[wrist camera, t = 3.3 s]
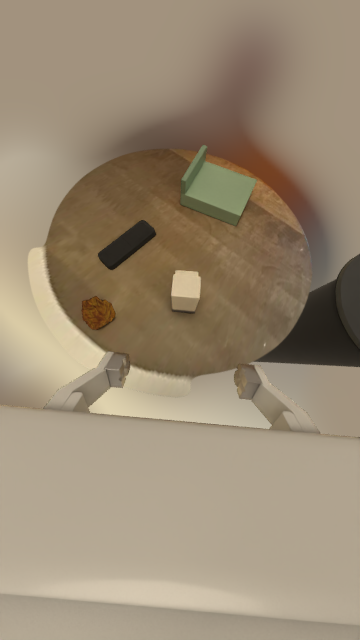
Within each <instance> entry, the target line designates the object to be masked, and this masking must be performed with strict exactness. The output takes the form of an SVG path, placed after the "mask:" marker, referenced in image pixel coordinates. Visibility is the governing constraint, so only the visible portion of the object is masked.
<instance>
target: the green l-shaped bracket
mask: <svg viewBox="0 0 360 640" xmlns="http://www.w3.org/2000/svg"><path fill="white" fill-rule="evenodd" d="M206 151H207V146H205V145H203V146H202V147H201V149H200V151H199V152H198V154H197V155H196V157H195V158H194V160H193V162H192V163H191V165H190V166H189V168H188V170H187V171H186V173H185V174H184V176H183V178H182V179H181V205H183V206H186V207H188V208H191V209H193V210H196V211H199V212H201V213H204V214H206V215H209V216H211V217H214V218H216V219H219V220H222V221H224V222H227V223H229V224H232V225H234V226H236V225H237V223H238V221H239V218H240V216H241V214H242V212H243V210H244V208H245V205H246V203H247V201H248V199H249V197H250V194H251V192H252V190H253V188H254V186H255V183H256V181H257V180H256V179H253V178H250V177H247V176H245V175H242V174H239V173H236V172H234V171H231V170H228V169H225V168H222V167H220V166H217V165H214V164H211V163H209V162H206V161H205V158H206Z"/></svg>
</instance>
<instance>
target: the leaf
mask: <svg viewBox="0 0 360 640" xmlns="http://www.w3.org/2000/svg"><path fill="white" fill-rule="evenodd" d="M82 312H83V313H82V315H83V320H84V321H85V322H86V324H88V326H89V327H90V328H91V329H97V330H98V328H101V327H102V326H103V325H105V323H106V322H107V323H108V322H109V321H112V318H115V312H114V309H113V307H112V304H111V303H109V302H107V301H106V300H100V299H99V298H98V297H97V296H95V297H93V298H91V299H89V300H85V301H82Z"/></svg>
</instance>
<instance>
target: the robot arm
mask: <svg viewBox="0 0 360 640" xmlns="http://www.w3.org/2000/svg"><path fill="white" fill-rule="evenodd" d="M237 369H238V370H237V371H235V374H234V382H235V385H236V386H237V387H238V388H237V392H238V395H239V398H240V399H249V400H252V402H253V403H254V404H255V405H256V407H257V408H258V409H259V410H260V411H261V413H262V414H263V415H264V416H265V417H266V418H267V420H268V421H269V422H270V423H271V424H272V426H271V427H270V429H261V428H250V427H238V426H228V425H217V424H206V423H195V422H184V421H172V420H162V419H150V418H139V417H129V416H117V415H106V414H96V413H90V411H89V409H88V407H89V406H90V405H92V404H93V403H94V402H95V401H96V400H97V399H98V398H99V397H101V396H102V395H103V394H104V393H105V392H106V391H107V390H108V389H110V387H118V388H123V385H124V383H125V380H126V378H125V376H127V375H128V373H129V370H130V361H129V354H127V353H118V352H107V353H106V354H105V355H104V357H103V358H102V360H101V361H100V363H99V365H98V366H97V368H93V369H92V370H90V371H88V372H87V373H85V374H83V375H82V376H80V377H78V378H77V379H75V380H74V381H72V382H70V383H69V384H67V385H65V386H63V387H62V388H60V389H58V390H57V392H56V393H55V394H54V395H53V397H52V398H51V399H50V400H49V402H48V403H47V404H46V406H45V407H44V408H43V409H40V408H30V407H18V406H8V405H0V640H360V437H350V436H338V435H328V434H320V432H319V430H318V429H317V427H316V426H315V424H314V423H313V421H312V419H311V418H310V416H309V415H308V414H307V412H305V410H303V409H302V408H301V407H300V406H298V405H297V404H296V403H295V402H293V401H292V400H291V399H290V398H289V397H287V396H286V395H285V394H283V393H282V392H281V391H280V390H279V389H277V388H276V387H275V386H274V385H272V384H270V383H269V381H268V379H267V377H266V375H265V373H264V371H263V370H262V368H261V366H259V365H249V364H238V366H237Z"/></svg>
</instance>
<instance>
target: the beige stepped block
mask: <svg viewBox="0 0 360 640" xmlns="http://www.w3.org/2000/svg"><path fill="white" fill-rule="evenodd" d="M200 285H201V277H198V272H190V271H179V270H176V273H175V275H173V283H172V293H171V300H172V311H174V312H185V313H195V309H196V306H197V304H198V301H199V299H200Z"/></svg>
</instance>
